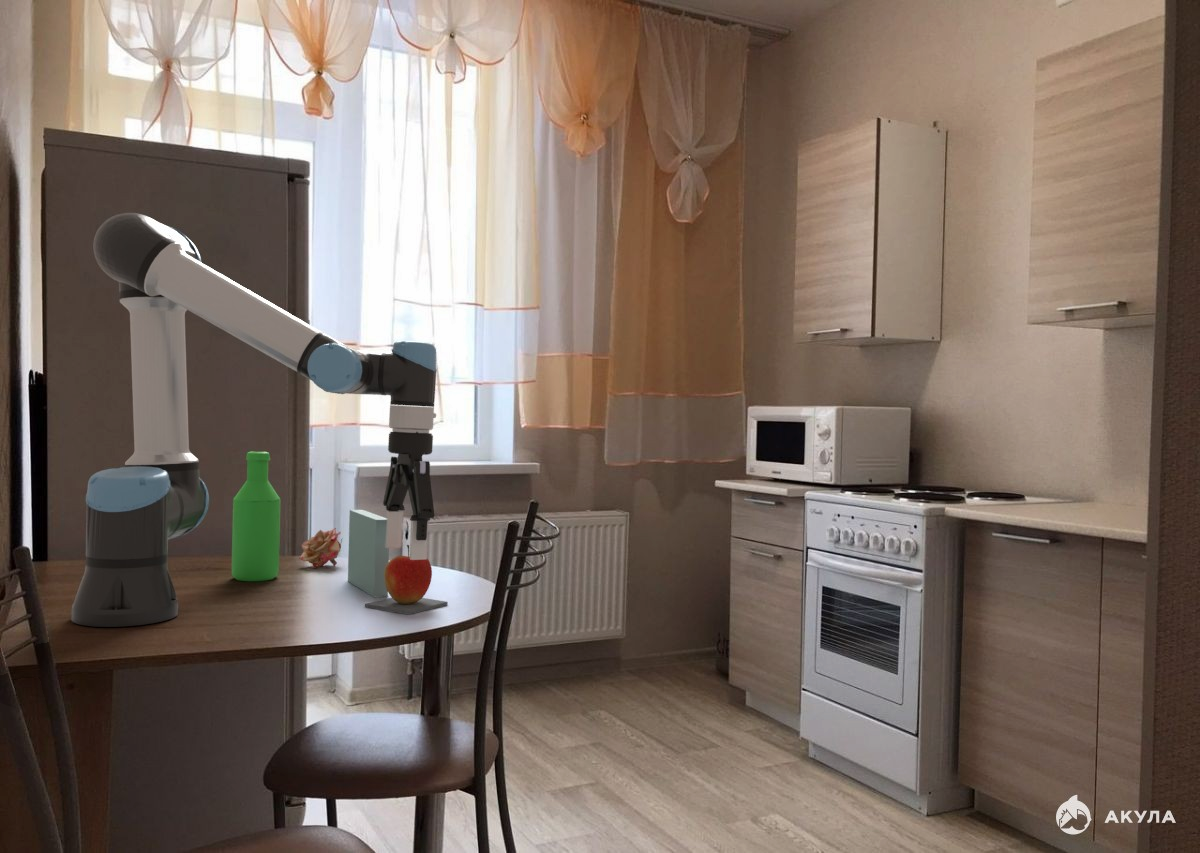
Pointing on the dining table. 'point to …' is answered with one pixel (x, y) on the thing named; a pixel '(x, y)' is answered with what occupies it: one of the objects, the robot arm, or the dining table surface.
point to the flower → (321, 548)
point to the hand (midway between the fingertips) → (405, 553)
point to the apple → (407, 578)
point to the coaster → (406, 605)
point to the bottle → (256, 524)
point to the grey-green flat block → (368, 552)
